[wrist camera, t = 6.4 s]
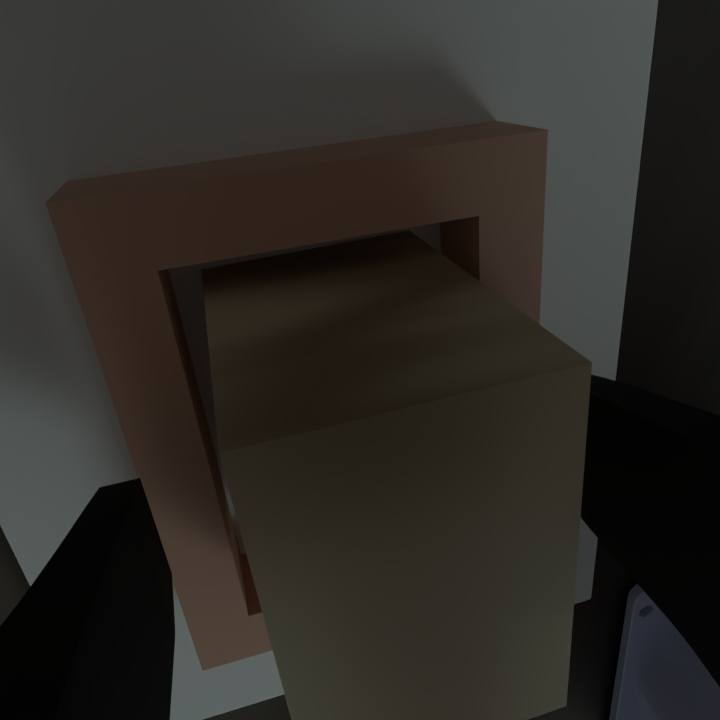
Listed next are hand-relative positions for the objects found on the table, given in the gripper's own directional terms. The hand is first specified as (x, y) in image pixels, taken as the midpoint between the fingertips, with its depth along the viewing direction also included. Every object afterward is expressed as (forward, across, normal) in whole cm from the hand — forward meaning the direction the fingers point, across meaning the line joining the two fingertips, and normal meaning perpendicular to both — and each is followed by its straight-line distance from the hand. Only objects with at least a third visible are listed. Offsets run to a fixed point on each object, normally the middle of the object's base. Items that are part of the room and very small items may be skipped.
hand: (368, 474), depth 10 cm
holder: (+4, 0, 0) cm, 4 cm away
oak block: (+3, 0, 0) cm, 3 cm away
